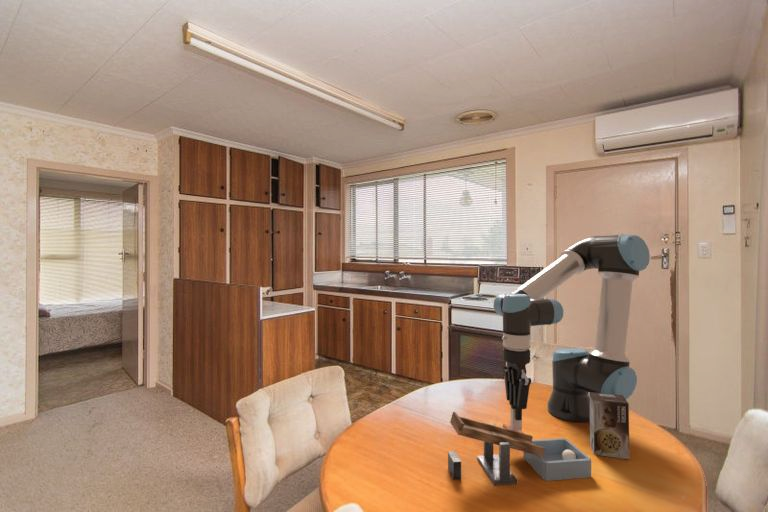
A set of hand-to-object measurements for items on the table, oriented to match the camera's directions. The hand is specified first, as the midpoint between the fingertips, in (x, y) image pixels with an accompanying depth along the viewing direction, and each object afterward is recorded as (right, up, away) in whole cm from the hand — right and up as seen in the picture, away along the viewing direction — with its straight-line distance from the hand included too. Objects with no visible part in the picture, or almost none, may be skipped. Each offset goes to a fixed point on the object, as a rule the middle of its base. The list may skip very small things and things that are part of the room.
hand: (516, 429), depth 108 cm
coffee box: (+28, -7, +1) cm, 29 cm away
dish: (+9, -7, -6) cm, 13 cm away
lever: (-9, +1, -5) cm, 10 cm away
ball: (+13, -5, -5) cm, 15 cm away
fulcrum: (-13, -8, -8) cm, 17 cm away
